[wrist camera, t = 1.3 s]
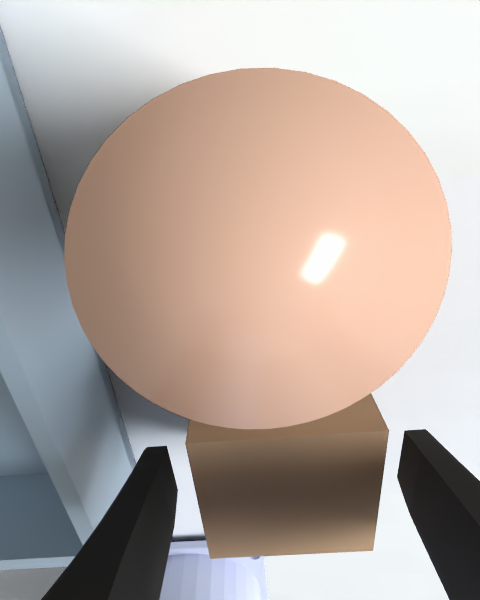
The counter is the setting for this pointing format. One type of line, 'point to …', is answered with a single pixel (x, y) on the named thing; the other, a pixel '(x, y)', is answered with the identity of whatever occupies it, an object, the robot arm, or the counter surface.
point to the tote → (46, 370)
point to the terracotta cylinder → (257, 248)
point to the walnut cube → (290, 484)
